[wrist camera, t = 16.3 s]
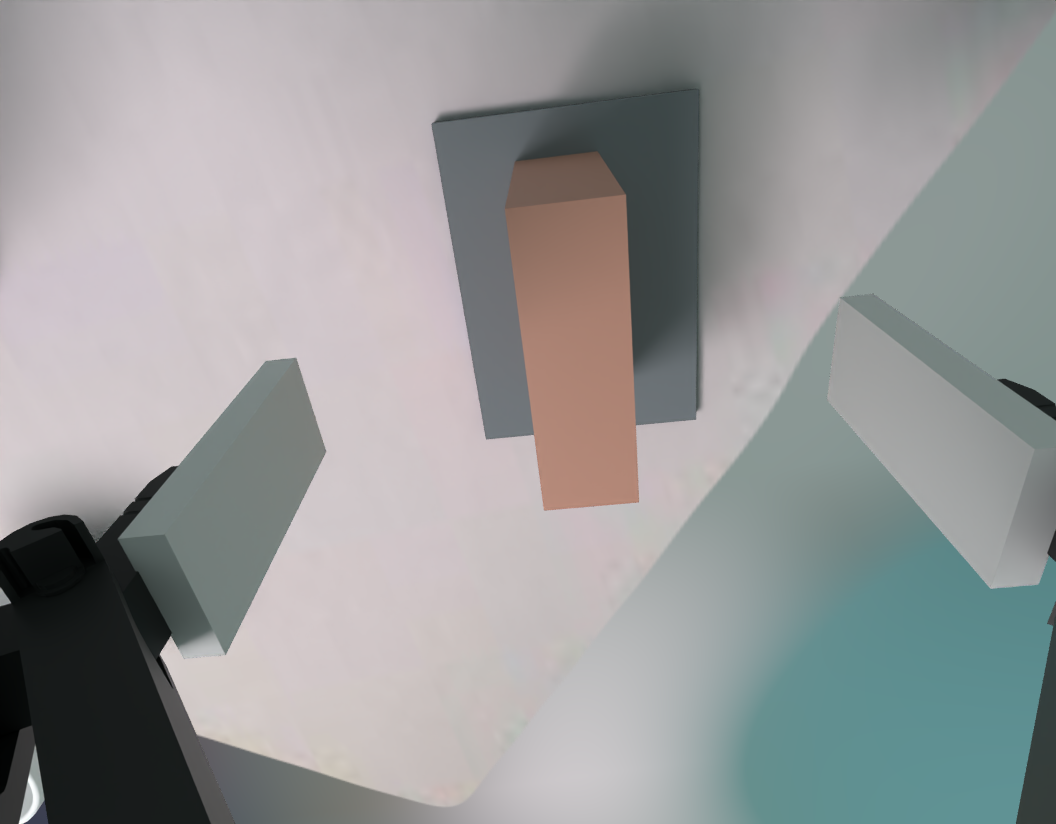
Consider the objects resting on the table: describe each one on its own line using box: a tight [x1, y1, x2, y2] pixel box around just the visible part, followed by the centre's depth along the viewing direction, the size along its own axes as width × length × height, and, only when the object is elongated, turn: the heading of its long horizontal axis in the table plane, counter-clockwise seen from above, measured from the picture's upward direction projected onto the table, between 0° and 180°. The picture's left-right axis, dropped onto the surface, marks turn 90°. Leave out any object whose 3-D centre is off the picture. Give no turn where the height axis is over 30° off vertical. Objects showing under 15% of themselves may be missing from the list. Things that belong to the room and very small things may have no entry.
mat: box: [432, 89, 699, 439], centre depth 28 cm, size 10×14×1 cm
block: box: [505, 151, 639, 510], centre depth 23 cm, size 3×9×10 cm
